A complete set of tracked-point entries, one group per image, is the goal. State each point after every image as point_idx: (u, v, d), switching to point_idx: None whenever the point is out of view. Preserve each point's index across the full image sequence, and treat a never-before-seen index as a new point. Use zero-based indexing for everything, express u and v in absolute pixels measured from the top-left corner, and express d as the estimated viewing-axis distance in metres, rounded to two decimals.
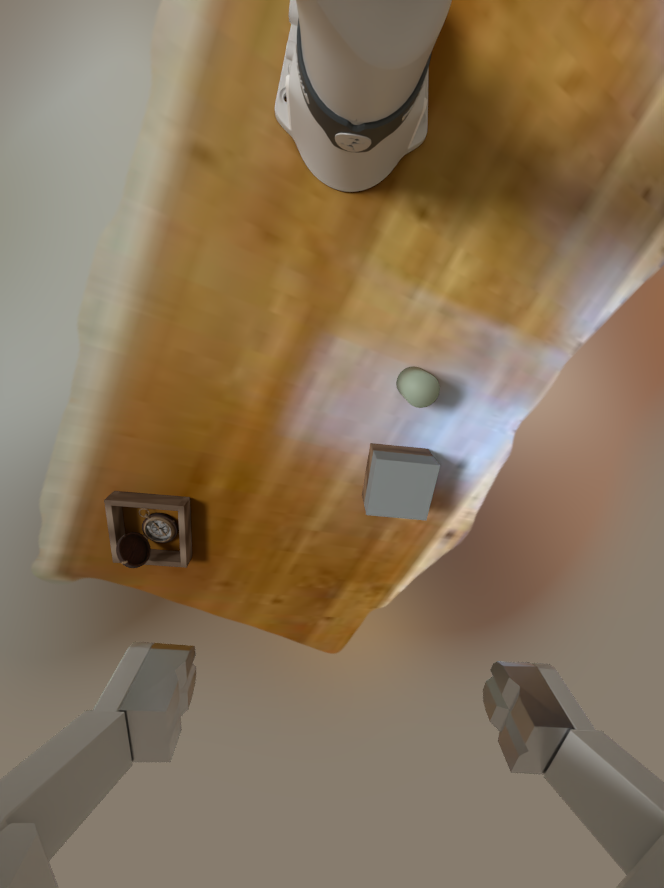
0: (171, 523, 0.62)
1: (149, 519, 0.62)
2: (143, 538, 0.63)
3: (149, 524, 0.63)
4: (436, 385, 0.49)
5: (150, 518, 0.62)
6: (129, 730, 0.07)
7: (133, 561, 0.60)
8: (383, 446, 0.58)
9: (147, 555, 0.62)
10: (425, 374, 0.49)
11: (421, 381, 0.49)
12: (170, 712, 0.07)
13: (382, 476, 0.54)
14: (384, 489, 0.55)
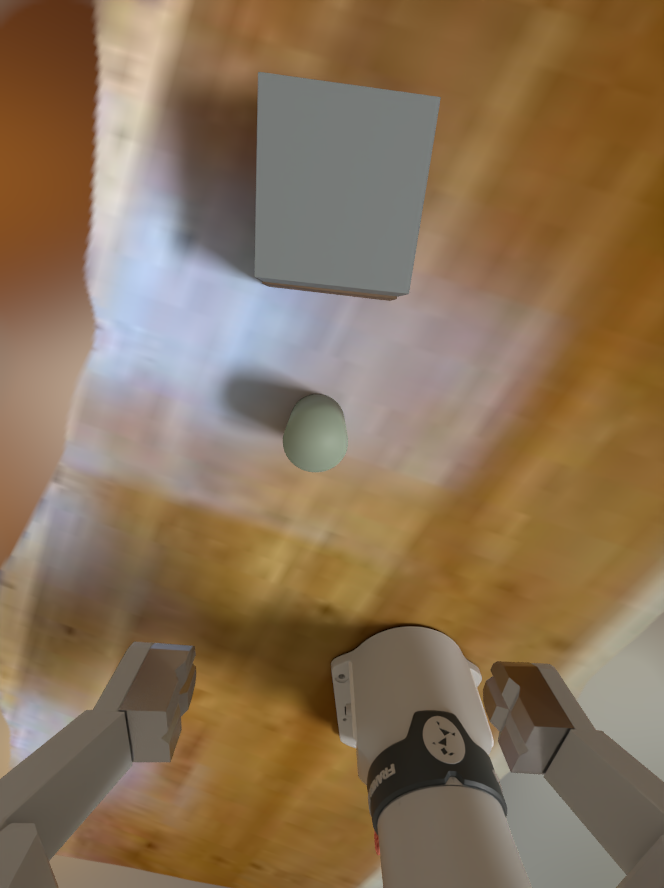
0: None
1: None
2: None
3: None
4: (290, 451, 0.27)
5: None
6: (129, 730, 0.07)
7: None
8: (365, 297, 0.28)
9: None
10: (313, 470, 0.27)
11: (319, 459, 0.27)
12: (170, 712, 0.07)
13: (394, 241, 0.21)
14: (389, 199, 0.21)
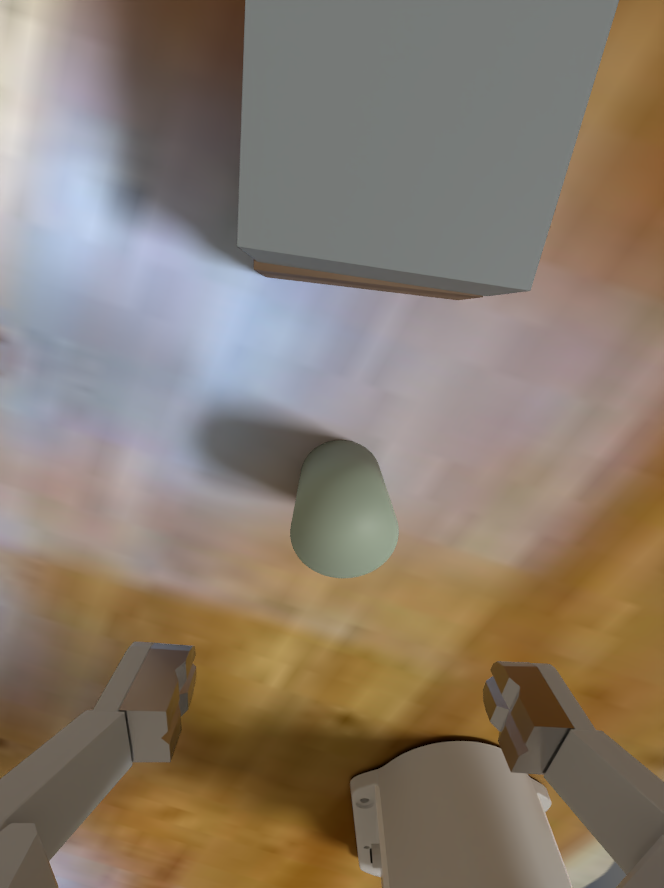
0: None
1: None
2: None
3: None
4: (302, 548, 0.16)
5: None
6: (129, 730, 0.07)
7: None
8: (423, 294, 0.17)
9: None
10: (339, 575, 0.17)
11: (350, 559, 0.16)
12: (170, 712, 0.07)
13: (516, 185, 0.11)
14: (517, 93, 0.10)
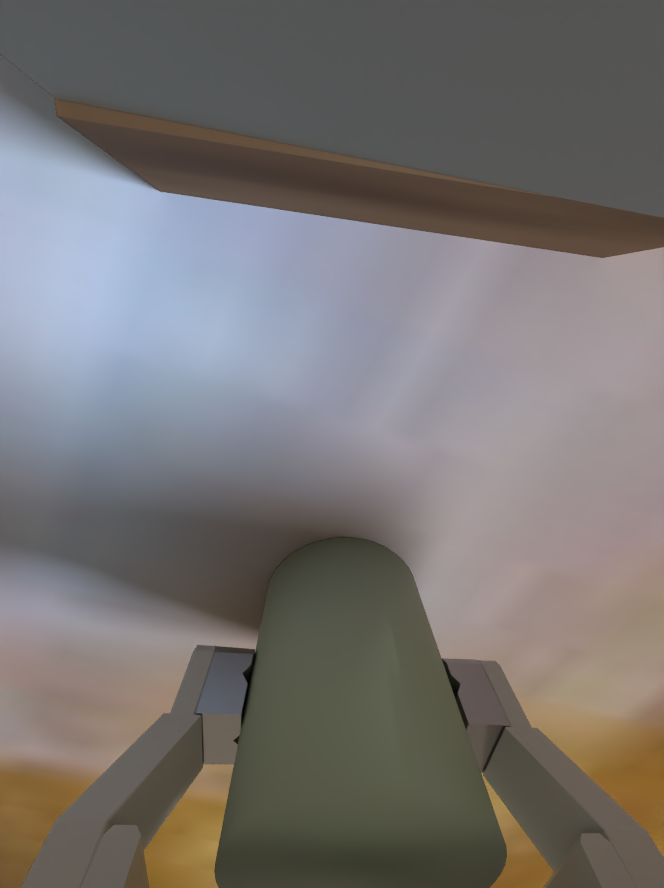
0: None
1: None
2: None
3: None
4: None
5: None
6: (203, 733, 0.07)
7: None
8: (541, 237, 0.07)
9: None
10: None
11: None
12: (242, 715, 0.08)
13: None
14: None
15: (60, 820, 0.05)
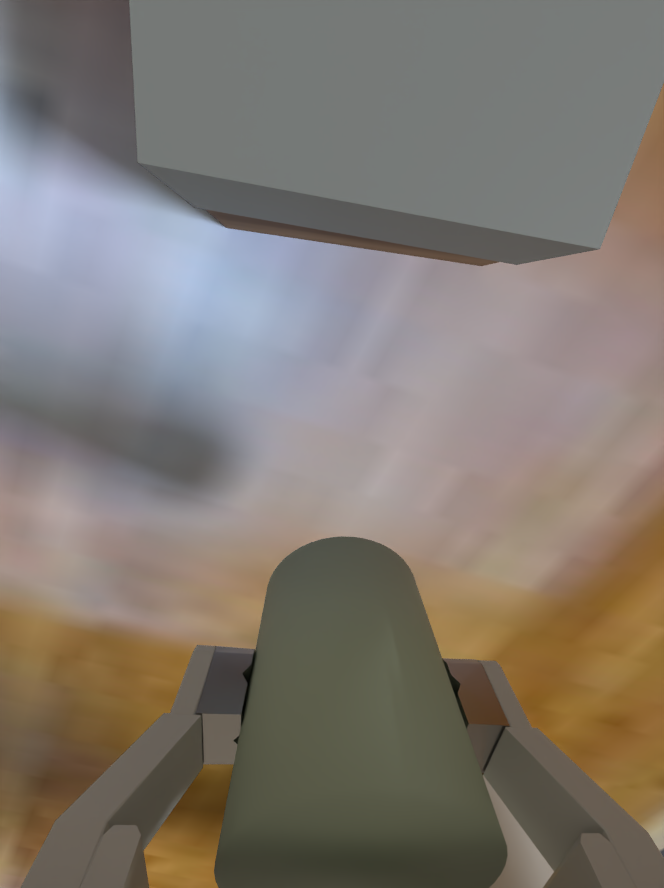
0: None
1: None
2: None
3: None
4: None
5: None
6: (203, 733, 0.07)
7: None
8: (439, 255, 0.13)
9: None
10: None
11: None
12: (242, 715, 0.08)
13: (594, 68, 0.07)
14: None
15: (60, 821, 0.05)
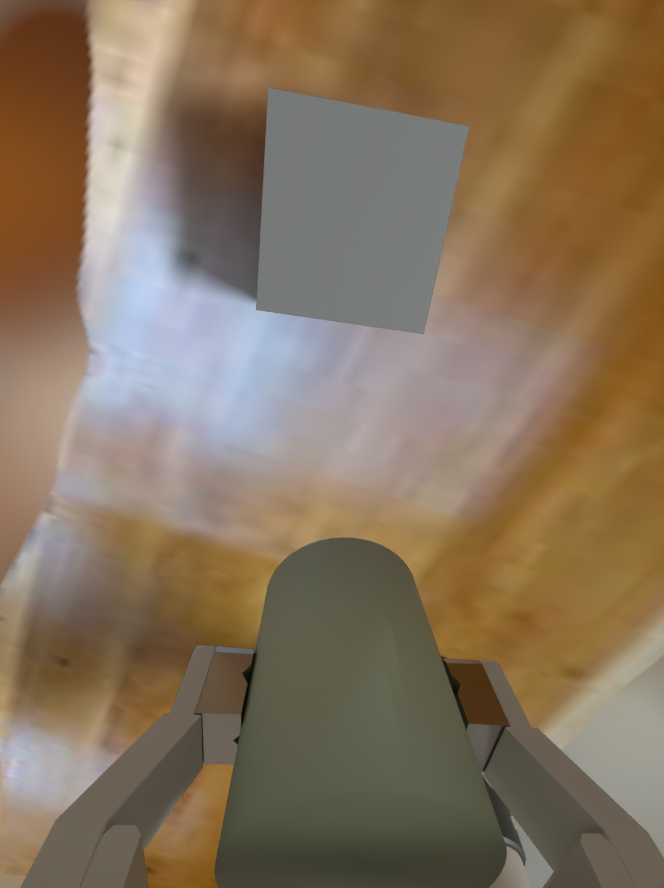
0: None
1: None
2: None
3: None
4: None
5: None
6: (203, 733, 0.07)
7: None
8: None
9: None
10: None
11: None
12: (242, 715, 0.08)
13: (410, 278, 0.20)
14: (407, 233, 0.19)
15: (60, 821, 0.05)
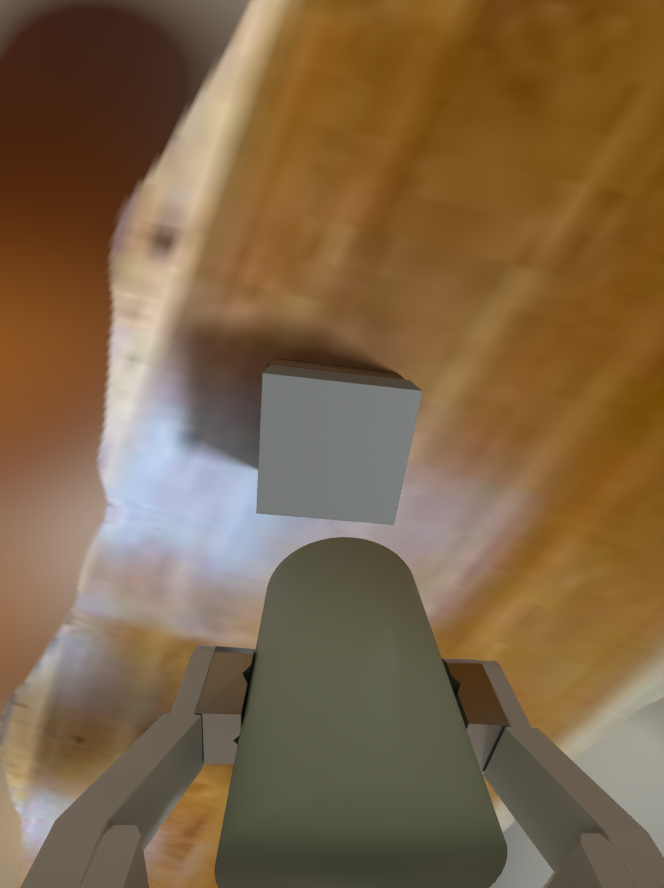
0: None
1: None
2: None
3: None
4: None
5: None
6: (203, 733, 0.07)
7: None
8: None
9: None
10: None
11: None
12: (242, 715, 0.08)
13: (381, 488, 0.24)
14: (376, 459, 0.23)
15: (59, 821, 0.05)
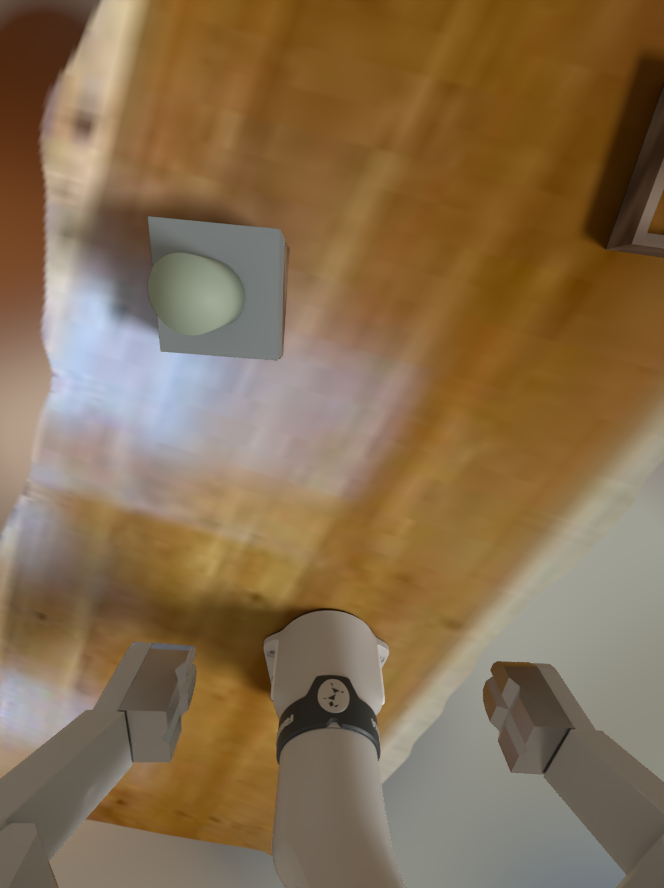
0: None
1: None
2: None
3: None
4: (158, 307, 0.23)
5: None
6: (129, 730, 0.07)
7: None
8: None
9: None
10: (189, 332, 0.24)
11: (194, 318, 0.23)
12: (170, 712, 0.07)
13: (260, 325, 0.29)
14: (252, 296, 0.28)
15: None
